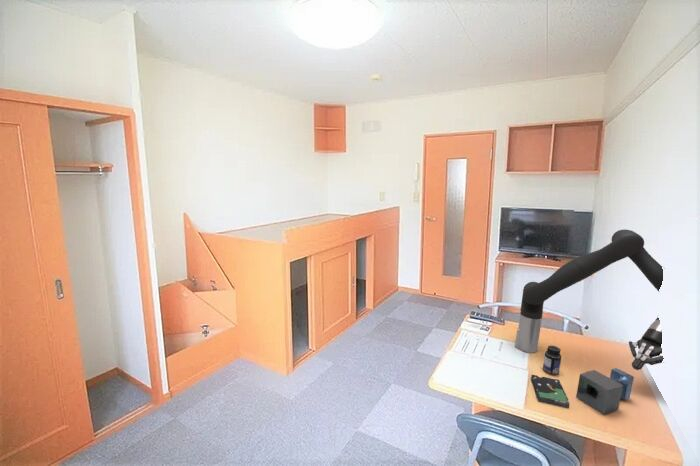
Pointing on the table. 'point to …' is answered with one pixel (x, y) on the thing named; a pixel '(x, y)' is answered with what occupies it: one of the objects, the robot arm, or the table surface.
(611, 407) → the bearing block
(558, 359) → the pill bottle
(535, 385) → the disk drive
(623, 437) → the table surface
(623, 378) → the silver metal piece
